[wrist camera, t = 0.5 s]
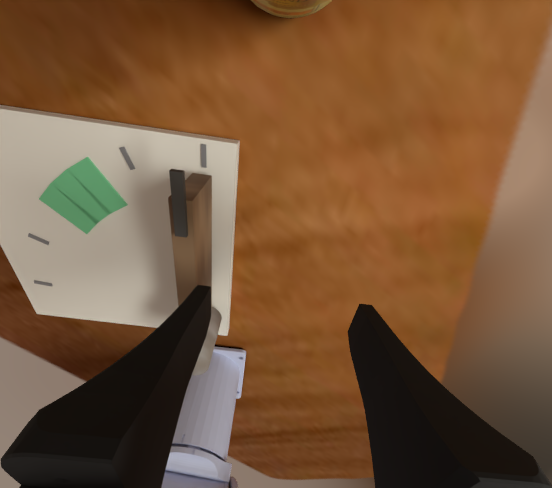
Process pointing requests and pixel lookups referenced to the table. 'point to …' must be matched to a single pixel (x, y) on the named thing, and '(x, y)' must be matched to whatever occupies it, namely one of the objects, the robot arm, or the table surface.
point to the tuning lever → (193, 246)
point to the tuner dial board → (106, 214)
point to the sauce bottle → (291, 7)
